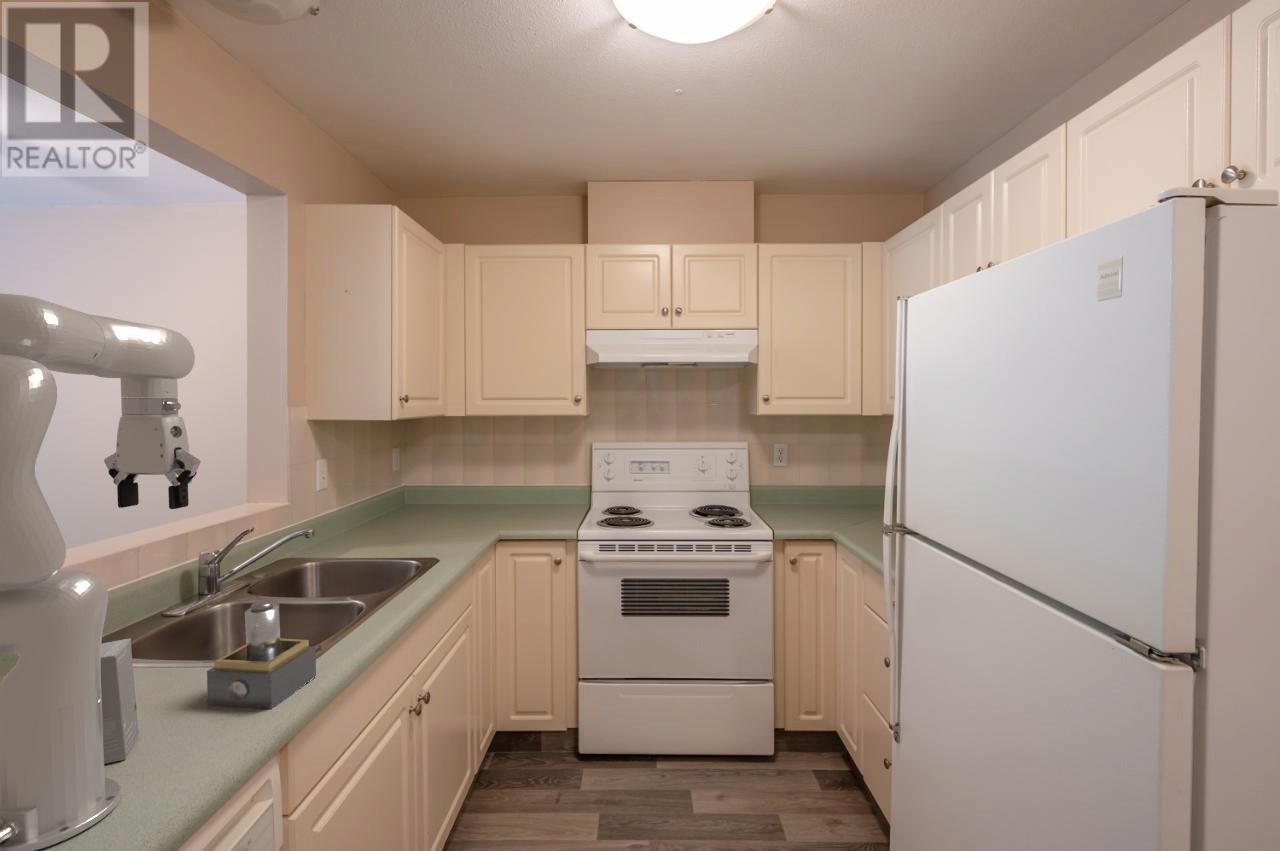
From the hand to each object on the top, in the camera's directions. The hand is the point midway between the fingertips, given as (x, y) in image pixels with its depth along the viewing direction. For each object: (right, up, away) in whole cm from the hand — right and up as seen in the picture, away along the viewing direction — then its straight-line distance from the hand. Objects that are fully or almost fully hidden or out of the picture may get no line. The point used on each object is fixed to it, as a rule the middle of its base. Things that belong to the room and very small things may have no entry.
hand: (153, 507), depth 101 cm
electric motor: (+16, -28, +5) cm, 33 cm away
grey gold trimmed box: (+16, -34, +5) cm, 38 cm away
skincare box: (+4, -35, -14) cm, 38 cm away
